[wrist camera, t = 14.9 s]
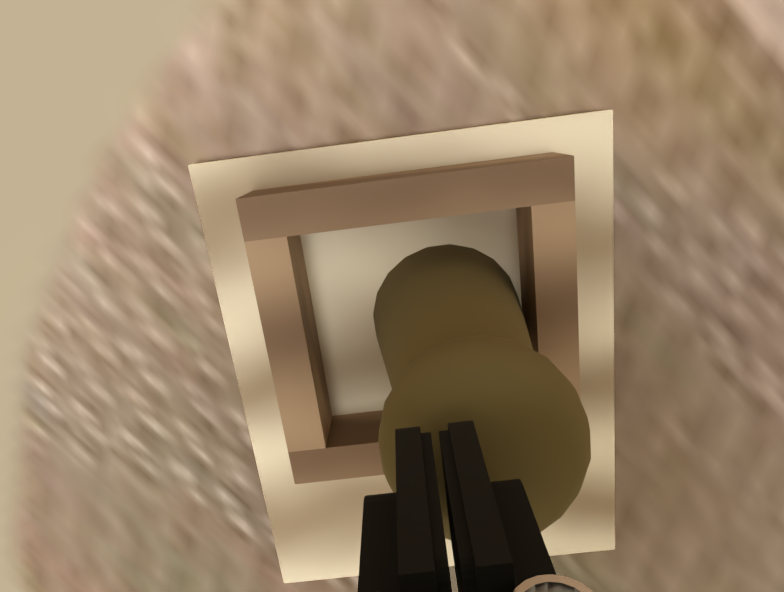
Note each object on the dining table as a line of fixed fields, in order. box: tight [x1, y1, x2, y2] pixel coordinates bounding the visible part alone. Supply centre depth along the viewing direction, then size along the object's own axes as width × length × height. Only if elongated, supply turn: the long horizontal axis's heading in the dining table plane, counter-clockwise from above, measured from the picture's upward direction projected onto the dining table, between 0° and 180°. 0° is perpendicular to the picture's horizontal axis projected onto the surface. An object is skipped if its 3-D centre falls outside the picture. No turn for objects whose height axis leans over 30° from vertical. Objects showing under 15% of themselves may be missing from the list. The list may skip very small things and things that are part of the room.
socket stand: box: [188, 110, 615, 583], centre depth 23 cm, size 20×16×4 cm
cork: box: [373, 244, 591, 540], centre depth 17 cm, size 6×6×11 cm
